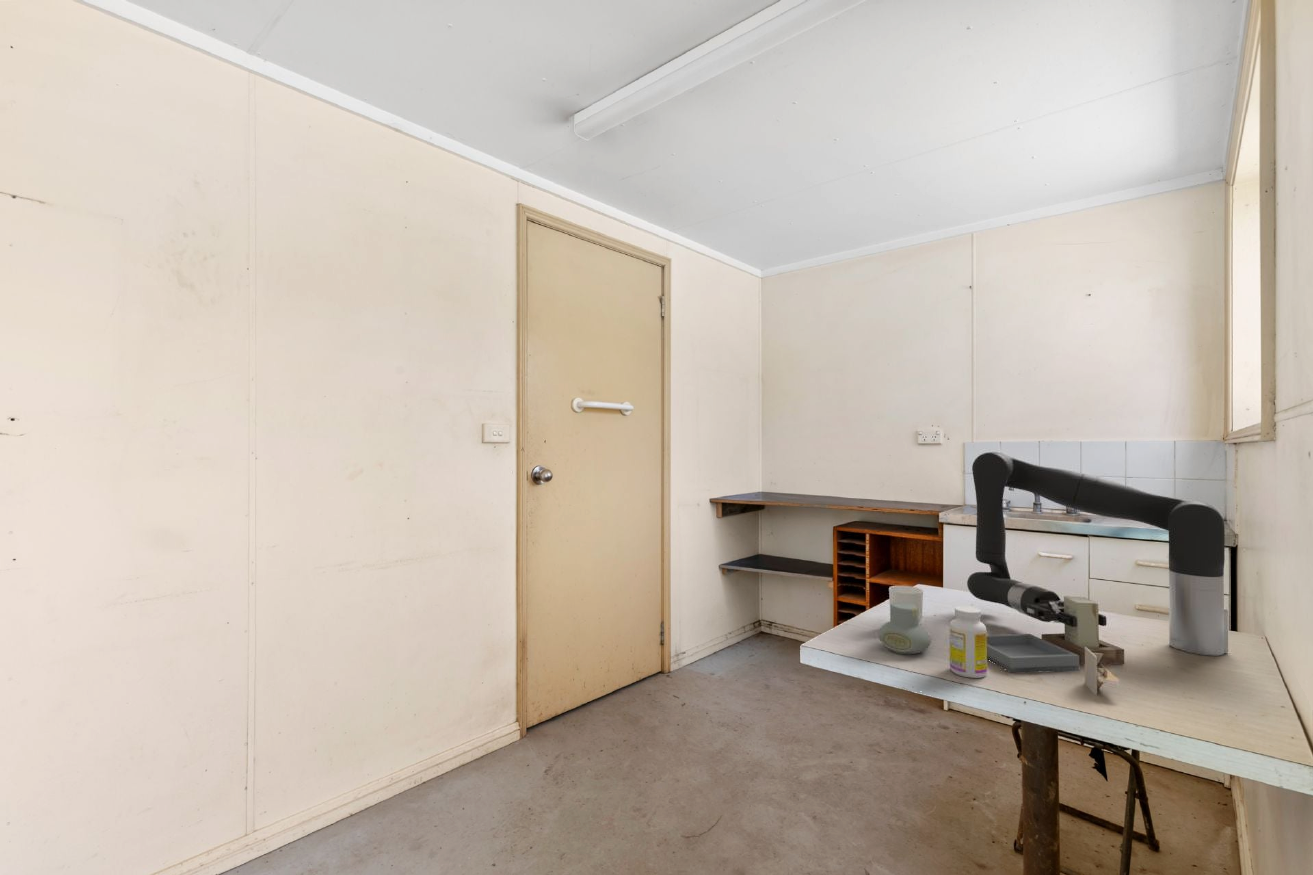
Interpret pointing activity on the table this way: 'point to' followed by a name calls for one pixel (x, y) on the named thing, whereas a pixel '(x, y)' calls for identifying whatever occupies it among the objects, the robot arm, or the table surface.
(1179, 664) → the table surface
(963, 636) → the supplement bottle
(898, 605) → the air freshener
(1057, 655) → the slate tray
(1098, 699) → the table surface
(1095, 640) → the skincare box
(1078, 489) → the robot arm
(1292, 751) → the table surface
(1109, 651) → the walnut collar
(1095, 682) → the architectural model
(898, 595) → the white cup
